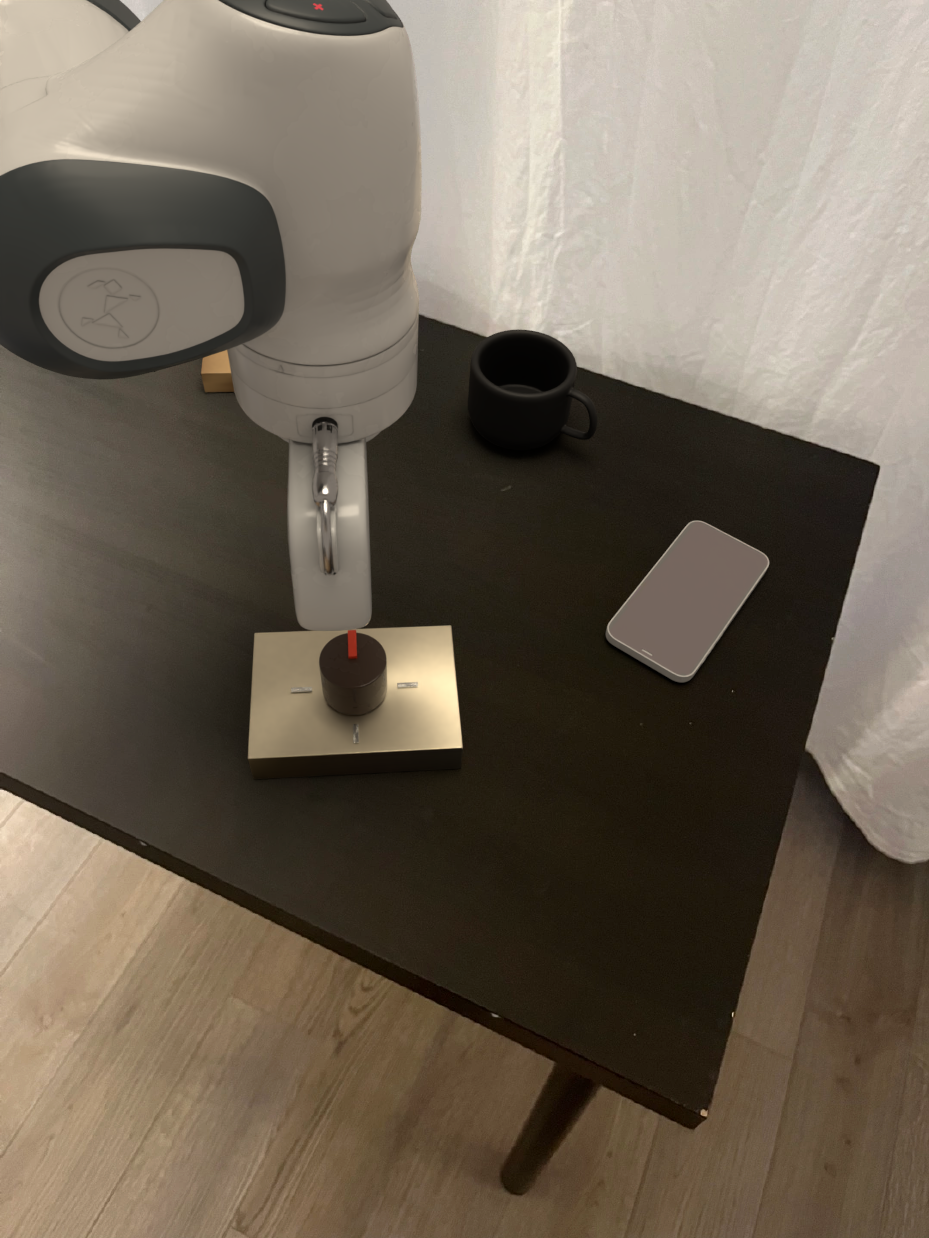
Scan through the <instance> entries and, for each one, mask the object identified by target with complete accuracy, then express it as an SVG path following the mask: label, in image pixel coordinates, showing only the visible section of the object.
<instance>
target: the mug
mask: <svg viewBox="0 0 929 1238" xmlns="http://www.w3.org/2000/svg"><path fill="white" fill-rule="evenodd" d="M577 376H578V365H577V360H576V358H575V356H574V354H573V352H572V351H571V350H570V348H569V347H568V346H567V345H566V344H564V343H563V342H562V341H561V340H559V339H558V338H555V337H553V336H551V335H550V334H546V333H544V332H540V331H536V330H530V329H507V330H503V331H499V332H495V333H493V334H491V335H489V336H487V337H485V338H484V339H482V340H481V341H480V342H479V343H478V344H477V345H476V347H475V348H474V350H473V351H472V354H471V358H470V365H469V379H468V393H467V395H468V396H467V411H468V416H469V419H470V421H471V423H472V425H473V427H474V429H475V430H476V432H478V434H479V435H480V436H481V437H483V438H484V439H485V440H486V441H487V442H488V443H491V444H492V445H495V446H497V447H500V448H503V449H506V450H512V451H529V450H534V449H539V448H542V447H544V446H546V445H547V444H549V443H551V442H552V441H554V440H555V439H556V438H557V437H558V436H559V435H560V434H564V435H565V436H567V437H570V438H573V439H576V440H581V441H587V440H589V439H591V438H592V437H593V436H594V435H595V433H596V431H597V427H598V412H597V409H596V406H595V404H594V402H593V400H592V399H591V397H590V396H588V395H587V394H585V393H584V392H582V391H580V390H578V389H575V386H576V381H577ZM573 399H574V400H576V401H578V402H580V403H581V404H583V406H584V407H585V408H586V411H587V413H588V418H589V419H588V420H589V426H588V430H587V431H582V430H579V429H576V428H573V427H570V426H568V425H567V424H568V421H569V416H570V412H571V407H572V402H573Z"/></svg>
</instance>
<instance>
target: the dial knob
mask: <svg viewBox="0 0 929 1238" xmlns="http://www.w3.org/2000/svg"><path fill="white" fill-rule="evenodd" d="M319 667H320V675H321V683H322V691H323V696H324V698H325V700H326V702H327V703H328V704H329V705H330V706H331V707H332V708H333V709H334V710H336V711H338V712H340V713H343V714H347V715H361V714H365V713H368V712H370V711H372V710H374V709H375V708H376V707H378V706H379V705H380V704H381V702H382V701H383V700H384V698H385V696H386V693H387V658H386V653H385V650H384V648H383V647H382V645H381V644H380V643H379V642H378V641H377V640H376V639H374V638H373V637H371V636H369V635H366V634H363V633H356V630H348V633H345V634H341V635H339V636H336V637H335V638H333V639H331V640H330V641H329V642H328V643H327V644H326V645H325V646H324V648H323V649H322V651H321V653H320V657H319Z"/></svg>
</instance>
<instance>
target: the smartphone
mask: <svg viewBox="0 0 929 1238" xmlns="http://www.w3.org/2000/svg"><path fill="white" fill-rule="evenodd" d="M769 565H770V560H769V557H768V556H767V554H765V553H764V552H762V551H760V550H759V549H757V548H756V547H753V546H751V545H749V544H747V543H745V542H744V541H742V540H740V539H738V538H736V537H734V536H732V535H730V534H729V533H726V532H724V531H723V530H721V529H719V528H717V527H715V526H713V525H711V524H709V523H707V522H705V521H702V520H691V521H690V522H688V523H687V524H686V526H684V528H683V529H682V530H681V532H680V533H678V535H677V536H676V537H675V539H674V540H673V541H672V543H671V544H670V545H669V547H667V549H666V551H664V553H662V556H661V557H660V558H659V559H658V560H657V562H656V563H655V564H654V565H653V567H651V569H650V571H649V572H648V573H647V574H646V575H645V576H644V578H643V579H642V580H641V582H640V583H639V584H638V585H637V586H636V588H635V589H634V590H633V592H632V593H631V594H630V595H629V597H628V598H627V599H626V601H624V602H623V604H622V605H621V606H620V608H619V609H618V610H617V612H616V613H615V614H614V615H613V617H612V618H611V620H610V621H609V622H608V624H607V626H606V630H605V639H606V640H607V641H608V643H609V644H611V645H612V646H614V647H616V648H617V649H619V650H620V651H622V652H624V653H625V654H627V655H629V656H630V657H632V658H634V659H636V660H638V661H639V662H641V663H642V664H644V665H646V666H647V667H648V668H649V667H650V668H651V669H652V670H654V671H656V672H658V673H659V674H661V675H662V676H665V678H666V677H667V678H668V679H670V680H671V681H673V682H677V683H687V682H689V681H690V680H692V679H693V678H694V676H695V675H696V673H697V672H698V670H699V669H700V668H701V666H702V665H703V663H705V661H706V659H707V657H708V656H709V655H710V653H711V652H712V650H713V649H714V648H715V646H716V644H717V643H718V642H719V640H720V639H721V637H723V635H724V633H725V632H726V630H727V629H728V627H729V626H730V625H731V623H732V621H734V618H735V617H736V616H737V614H738V613H739V612H740V610H741V609H742V607H743V605H744V604H745V603H746V601H748V598H749V597H750V595H751V594H752V592H753V591H754V590H755V588H757V585H758V584H759V583H760V581H761V580H762V579H763V577H764V576H765V574H766V572H767V570H768V568H769Z"/></svg>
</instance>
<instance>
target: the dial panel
mask: <svg viewBox="0 0 929 1238" xmlns="http://www.w3.org/2000/svg"><path fill="white" fill-rule="evenodd" d="M352 630H356V633H363V634H366V635H369V636H371V637H373V638H374V639H376V640H377V641H378V642H379V643H380V644H381V645H382V647H383V648H384V650H385V653H386V658H387V693H386V696H385V698H384V700H383V701H382V702H381V704H380V705H379V706H378V707H376V708H375V709H374V710H372V711H370V712H368V713H365V714H361V715H347V714H343V713H340V712H338V711H336V710H334V709H333V708H332V707H331V706H330V705H329V704H328V703H327V702H326V700H325V698H324V696H323V691H322V683H321V675H320V667H319V657H320V653H321V651H322V649H323V648H324V646H325V645H326V644H327V643H328V642H329V641H330V640H331V639H333V638H335V637H336V636H339V635H341V634H345V633H348V630H341V631H314V630H293V631H271V632H270V631H269V632H268V631H267V632H254V634H253V650H252V655H253V656H252V668H251V686H250V688H251V689H250V705H249V707H250V709H249V725H248V726H249V727H248V729H249V730H248V745H247V761H248V765H249V769H250V773H251V776H252V779H253V780H268V779H269V780H270V779H289V778H307V777H309V778H310V777H325V776H344V775H346V776H347V775H363V774H364V775H365V774H381V773H382V774H383V773H400V772H401V773H402V772H418V771H419V772H420V771H421V772H422V771H436V770H438V771H440V770H457V769H458V770H459V769H462V761H463V751H464V744H463V742H464V741H463V733H462V723H461V712H460V702H459V701H460V700H459V692H458V691H459V690H458V681H457V670H456V660H455V649H454V639H453V629H452V625H450V624H449V625H447V624H445V625H426V626H425V625H422V626H399V627H398V626H397V627H371V628H358V629H352Z"/></svg>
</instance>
